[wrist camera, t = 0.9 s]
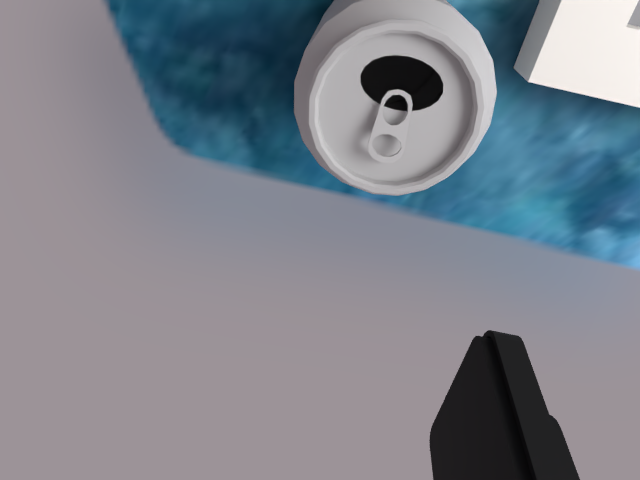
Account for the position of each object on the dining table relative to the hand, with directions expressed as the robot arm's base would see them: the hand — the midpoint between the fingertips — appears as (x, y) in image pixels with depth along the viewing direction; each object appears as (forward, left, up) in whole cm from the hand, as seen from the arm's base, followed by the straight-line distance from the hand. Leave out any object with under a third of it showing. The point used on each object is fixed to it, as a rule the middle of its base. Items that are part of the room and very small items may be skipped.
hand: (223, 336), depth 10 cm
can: (-2, +3, -22) cm, 23 cm away
